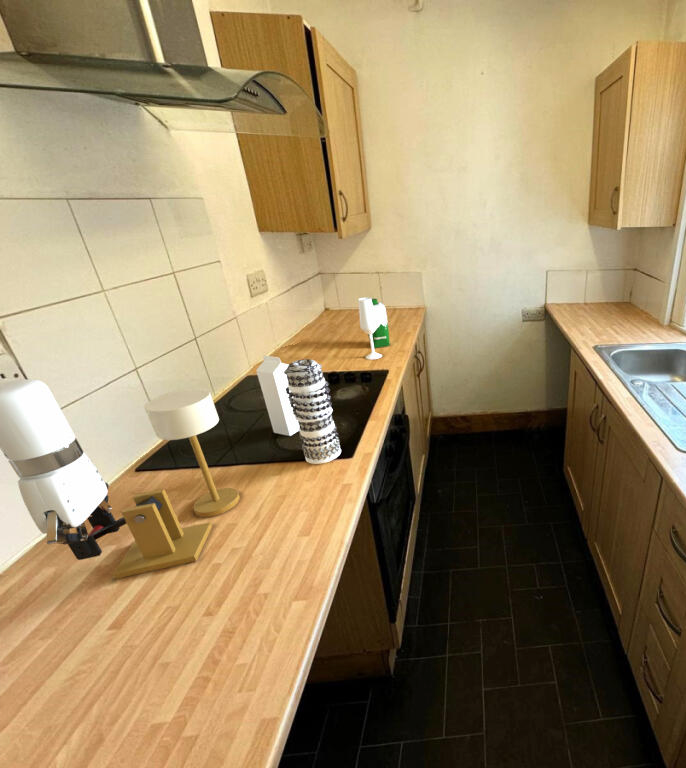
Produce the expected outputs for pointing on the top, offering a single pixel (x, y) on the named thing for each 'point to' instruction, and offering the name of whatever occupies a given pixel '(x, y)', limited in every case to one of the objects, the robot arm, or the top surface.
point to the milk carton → (380, 326)
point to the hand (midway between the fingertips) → (99, 543)
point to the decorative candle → (312, 411)
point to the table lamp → (191, 438)
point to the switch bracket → (159, 537)
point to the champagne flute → (368, 323)
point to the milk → (277, 395)
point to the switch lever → (119, 521)
